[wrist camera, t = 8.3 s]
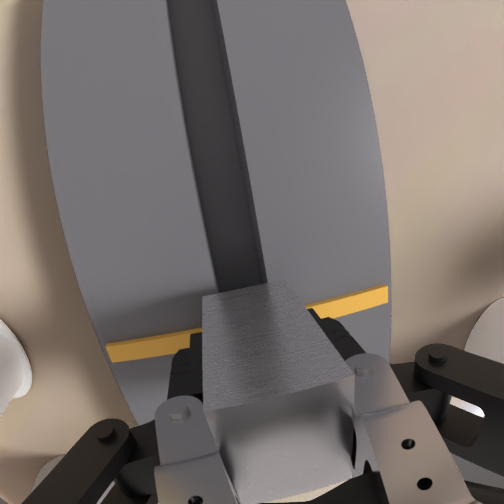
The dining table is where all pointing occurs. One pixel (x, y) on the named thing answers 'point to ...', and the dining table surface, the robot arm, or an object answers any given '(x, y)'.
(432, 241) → the dining table surface
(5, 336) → the downlight
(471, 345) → the cylindrical container
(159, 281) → the fader console
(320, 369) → the fader knob
